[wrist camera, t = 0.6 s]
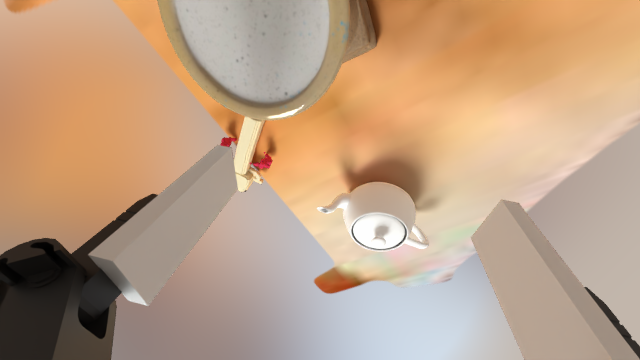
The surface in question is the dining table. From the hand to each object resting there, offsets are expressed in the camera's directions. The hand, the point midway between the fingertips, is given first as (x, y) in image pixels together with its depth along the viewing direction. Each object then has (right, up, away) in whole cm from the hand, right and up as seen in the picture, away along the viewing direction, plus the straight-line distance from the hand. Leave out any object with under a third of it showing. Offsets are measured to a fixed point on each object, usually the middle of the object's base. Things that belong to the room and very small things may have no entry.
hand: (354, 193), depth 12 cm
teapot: (+9, -4, +35) cm, 37 cm away
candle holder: (-1, +22, +19) cm, 29 cm away
